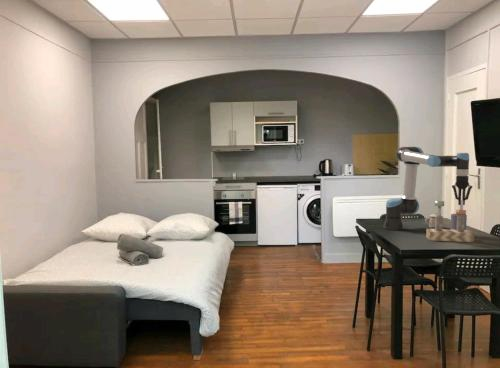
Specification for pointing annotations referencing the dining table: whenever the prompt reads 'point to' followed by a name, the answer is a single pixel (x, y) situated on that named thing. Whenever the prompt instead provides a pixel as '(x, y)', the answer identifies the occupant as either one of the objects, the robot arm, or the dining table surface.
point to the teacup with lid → (432, 220)
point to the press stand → (450, 232)
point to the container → (454, 221)
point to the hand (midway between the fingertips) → (461, 209)
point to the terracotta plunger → (461, 212)
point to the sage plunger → (439, 206)
